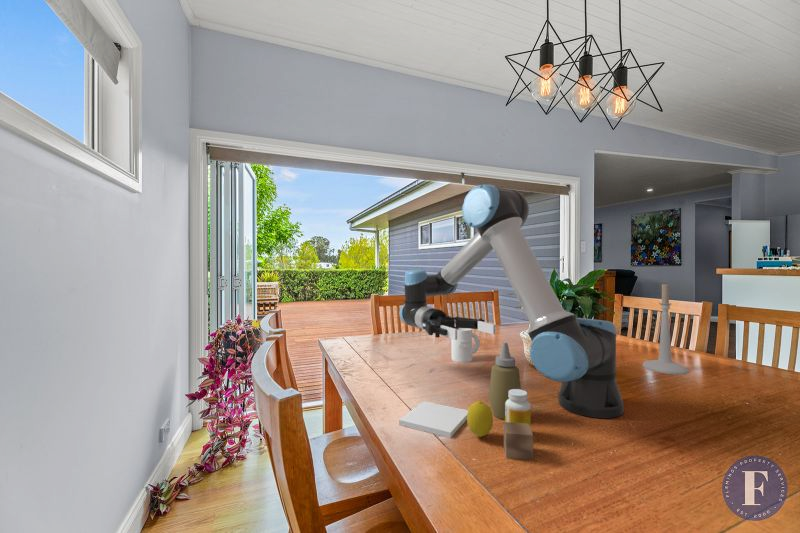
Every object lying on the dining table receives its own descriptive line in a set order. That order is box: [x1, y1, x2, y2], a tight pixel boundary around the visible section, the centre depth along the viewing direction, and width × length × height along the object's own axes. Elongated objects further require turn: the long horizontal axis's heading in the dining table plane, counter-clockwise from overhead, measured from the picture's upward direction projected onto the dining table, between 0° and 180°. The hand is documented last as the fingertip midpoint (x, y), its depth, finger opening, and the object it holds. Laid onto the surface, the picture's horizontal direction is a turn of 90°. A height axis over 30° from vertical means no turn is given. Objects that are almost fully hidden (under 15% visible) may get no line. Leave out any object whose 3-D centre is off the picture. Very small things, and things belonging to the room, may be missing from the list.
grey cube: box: [503, 421, 534, 461], centre depth 74 cm, size 5×5×5 cm
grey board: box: [398, 400, 469, 439], centre depth 89 cm, size 13×13×1 cm
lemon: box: [466, 400, 494, 438], centre depth 80 cm, size 6×6×8 cm
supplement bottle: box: [504, 389, 532, 430], centre depth 81 cm, size 5×5×10 cm
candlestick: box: [642, 283, 689, 375], centre depth 128 cm, size 13×13×30 cm
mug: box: [450, 328, 481, 363], centre depth 142 cm, size 8×12×12 cm
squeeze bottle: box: [488, 342, 522, 420], centre depth 91 cm, size 8×8×18 cm
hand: (476, 331), depth 100 cm, fingers open, 13 cm apart
